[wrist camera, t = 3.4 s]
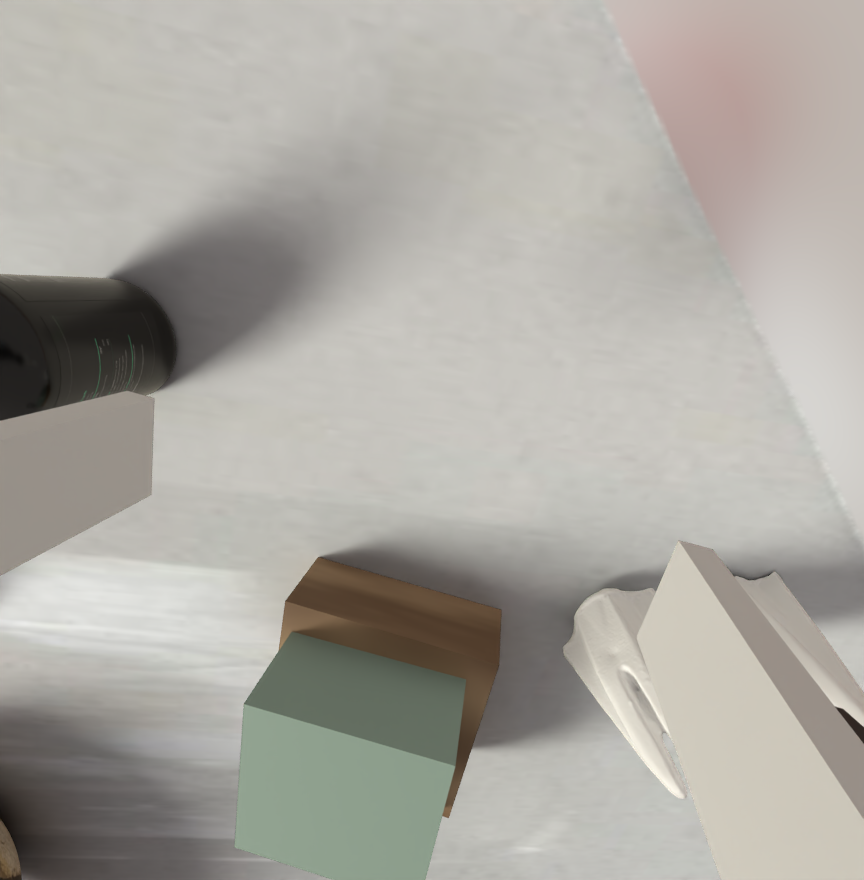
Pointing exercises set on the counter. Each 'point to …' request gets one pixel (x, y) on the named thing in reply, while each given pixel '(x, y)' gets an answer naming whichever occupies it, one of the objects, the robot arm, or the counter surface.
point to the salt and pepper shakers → (628, 681)
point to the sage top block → (346, 761)
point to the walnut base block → (403, 633)
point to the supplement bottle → (78, 341)
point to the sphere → (8, 856)
